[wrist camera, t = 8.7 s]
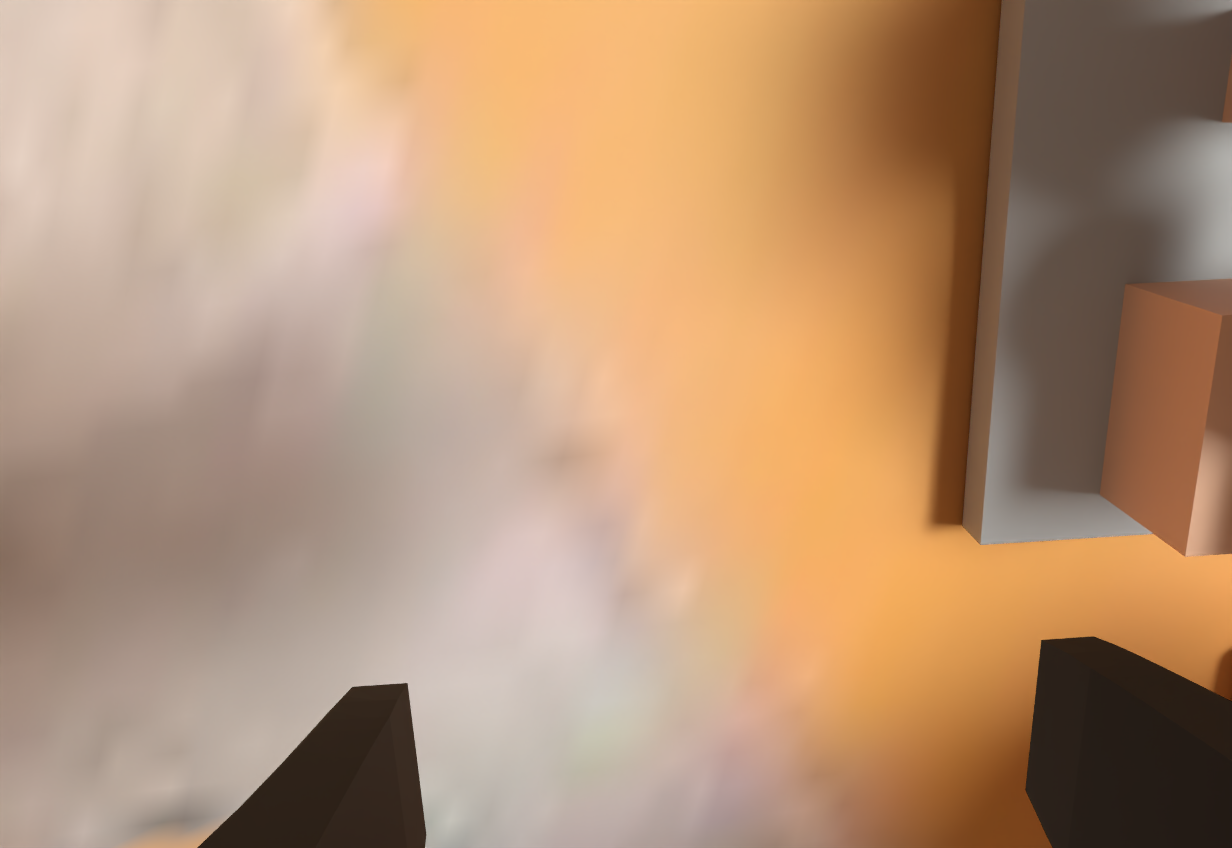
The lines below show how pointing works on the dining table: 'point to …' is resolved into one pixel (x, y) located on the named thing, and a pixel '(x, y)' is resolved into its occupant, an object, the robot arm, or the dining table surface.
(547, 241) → the dining table surface
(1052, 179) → the display stand
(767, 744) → the dining table surface
